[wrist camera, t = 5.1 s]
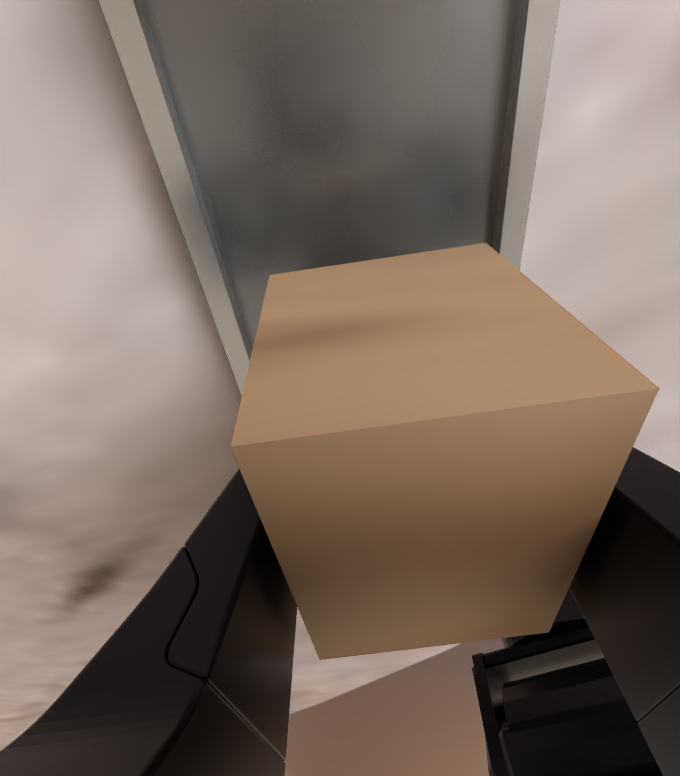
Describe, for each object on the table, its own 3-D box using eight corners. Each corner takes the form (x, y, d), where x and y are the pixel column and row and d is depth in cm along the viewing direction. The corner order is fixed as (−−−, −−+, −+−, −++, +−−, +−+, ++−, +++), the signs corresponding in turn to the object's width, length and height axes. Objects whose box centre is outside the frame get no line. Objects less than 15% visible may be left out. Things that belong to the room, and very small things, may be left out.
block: (466, 447, 12) (548, 632, 8) (316, 468, 12) (320, 659, 8) (486, 242, 8) (659, 388, 4) (269, 275, 8) (230, 446, 4)
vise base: (480, 430, 19) (518, 505, 15) (274, 459, 19) (267, 538, 16) (579, -404, 7) (853, -906, 3) (21, -295, 7) (-248, -656, 4)
